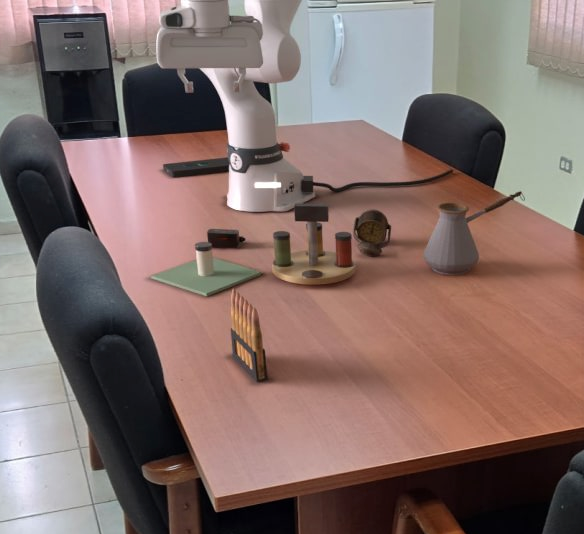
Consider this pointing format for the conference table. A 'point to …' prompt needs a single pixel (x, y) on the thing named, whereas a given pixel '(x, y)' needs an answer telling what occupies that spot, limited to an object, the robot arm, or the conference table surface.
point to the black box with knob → (224, 238)
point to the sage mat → (206, 277)
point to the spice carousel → (313, 251)
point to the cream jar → (204, 258)
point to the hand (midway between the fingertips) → (214, 91)
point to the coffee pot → (455, 238)
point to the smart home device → (197, 167)
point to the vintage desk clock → (371, 232)
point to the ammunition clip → (247, 338)
